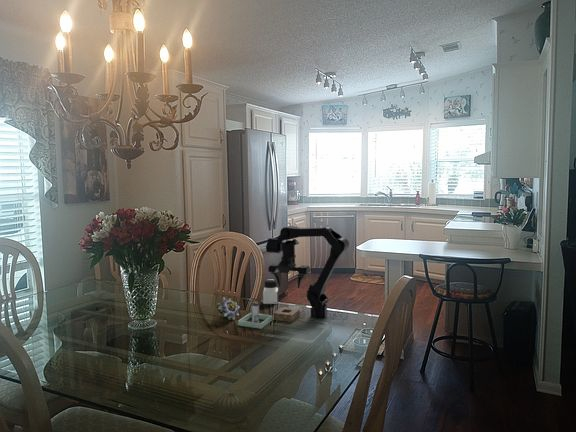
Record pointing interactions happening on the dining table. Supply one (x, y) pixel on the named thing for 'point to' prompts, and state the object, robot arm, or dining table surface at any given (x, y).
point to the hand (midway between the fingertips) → (289, 287)
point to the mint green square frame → (244, 322)
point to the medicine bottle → (270, 292)
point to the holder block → (286, 314)
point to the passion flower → (228, 308)
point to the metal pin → (255, 312)
